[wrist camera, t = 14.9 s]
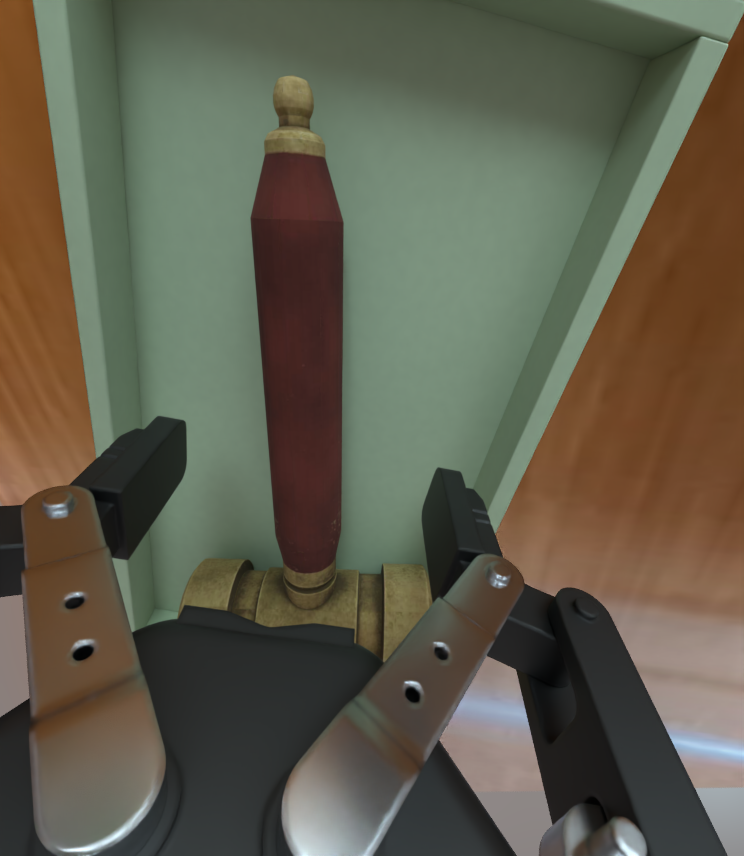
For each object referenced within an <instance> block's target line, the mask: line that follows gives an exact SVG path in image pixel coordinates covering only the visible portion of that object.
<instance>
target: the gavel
mask: <svg viewBox="0 0 744 856" xmlns="http://www.w3.org/2000/svg"><path fill="white" fill-rule="evenodd" d="M273 104H274V108H275V111H276V113H277V115H278V117H279V128H277V129H275V130H273V131H271V132H269V133H268V134H267V136H266V138H265V141H264V150H265V157H264V161H263V165H262V170H261V174H260V178H259V183H258V187H257V191H256V196H255V200H254V204H253V209H252V213H251V217H250V220H251V233H252V246H253V258H254V271H255V284H256V296H257V309H258V321H259V334H260V347H261V359H262V372H263V385H264V397H265V410H266V423H267V435H268V448H269V461H270V473H271V486H272V499H273V511H274V524H275V535H276V539H277V542H278V546H279V549H280V552H281V555H282V559H283V567H270V568H269V569H268V570H267V571H260V570H254V568H253V564H252V562H251V561H250V560H249V559H225V558H207V559H204V560H203V561H202V562H201V563H200V564H199V565H198V566H197V568H196V569H195V570H194V572H193V573H192V575H191V577H190V578H189V581H188V583H187V585H186V587H185V590H184V593H183V596H182V599H181V603H180V607H179V612H178V616H177V619H178V618H179V616H180V613H181V611H182V609H183V607H184V605H190V606H197V607H205V608H212V609H219V610H226V611H229V612H232V613H234V614H237V615H239V616H242V617H244V618H247V619H249V620H251V621H254V622H256V623H259V624H261V625H264V626H267V627H279V626H289V625H299V624H309V623H318V624H325V625H332V626H339V627H346V628H353V629H355V636H354V643H356V644H359V645H361V646H363V647H365V648H366V649H368V650H370V651H371V652H372V653H374V654H375V655H377V656H378V657H379V658H380V659H381V660H382V661H383V662H385V661H386V660H387V659H388V658H389V656H390V655H391V654H392V653H393V651H394V650H395V649H396V648H397V647H398V645H399V644H400V643H401V642H402V640H403V639H404V638H405V637H406V636H407V634H408V633H409V632H410V631H411V629H412V628H413V627H414V626H415V625H416V623H417V622H418V621H419V620H420V618H421V617H422V616H423V615H424V614H425V612H426V611H427V610H428V609H429V607H430V606H431V605H432V597H431V589H430V582H429V577H428V574H427V571H426V570H425V568H424V567H423V565H421V564H389V563H383V564H382V568H381V574H360V572H359V570H349V569H336V552H337V548H338V543H339V538H340V534H341V502H342V370H343V238H344V222H343V218H342V215H341V211H340V208H339V204H338V201H337V197H336V194H335V190H334V187H333V183H332V180H331V176H330V173H329V169H328V166H327V162H326V156H325V144H324V142H323V140H322V138H321V137H320V136H319V135H317V134H316V133H314V132H313V131H311V130H310V118H311V116H312V114H313V109H314V98H313V93H312V90H311V88H310V85H309V83H308V82H307V81H306V80H304V79H302V78H299V77H297V76H294V75H290V76H285V77H280V78H278V80H277V82H276V84H275V86H274V92H273Z"/></svg>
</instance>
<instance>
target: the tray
mask: <svg viewBox="0 0 744 856" xmlns="http://www.w3.org/2000/svg"><path fill="white" fill-rule="evenodd" d="M33 6H34V13H35V21H36V28H37V35H38V42H39V49H40V57H41V64H42V71H43V78H44V85H45V93H46V100H47V107H48V114H49V121H50V128H51V136H52V143H53V150H54V157H55V164H56V172H57V179H58V186H59V193H60V200H61V208H62V215H63V222H64V229H65V236H66V243H67V251H68V258H69V265H70V272H71V279H72V287H73V294H74V301H75V308H76V315H77V322H78V330H79V337H80V344H81V351H82V358H83V366H84V373H85V380H86V387H87V394H88V402H89V409H90V416H91V423H92V430H93V437H94V445H95V452H96V459H97V458H98V457H100V456H101V454H102V453H103V452H104V451H105V450H106V449H107V448H109V447H110V445H111V444H112V443H113V442H114V441H115V440H116V439H117V438H118V437H119V436H121V435H123V434H125V433H127V432H129V431H131V430H134V429H136V428H139V429H145V428H146V427H147V426H148V425H149V424H150V423H151V422H152V421H153V420H154V419H155V418H156V417H157V416H164V417H169V418H175V419H180V420H184V421H185V422H186V428H187V465H186V470H185V474H184V476H183V479H182V481H181V482H180V484H179V485H178V487H177V488H176V490H175V491H174V493H173V494H172V496H171V497H170V499H169V500H168V502H167V503H166V505H165V506H164V508H163V509H162V511H161V512H160V514H159V515H158V517H157V518H156V520H155V521H154V523H153V524H152V526H151V527H150V529H149V530H148V532H147V533H146V535H145V536H144V538H143V539H142V541H141V542H140V544H139V545H138V547H137V548H136V550H135V551H134V553H133V554H132V556H131V557H130V559H129V560H122V559H116V558H112V560H113V564H114V567H115V571H116V575H117V579H118V582H119V586H120V590H121V594H122V597H123V601H124V605H125V609H126V612H127V616H128V620H129V624H130V627H131V631H132V632H134V631H136V630H138V629H140V628H143V627H145V626H148V625H151V624H154V623H157V622H160V621H165V620H170V619H177V616H178V612H179V607H180V603H181V599H182V596H183V593H184V590H185V587H186V585H187V583H188V581H189V578H190V577H191V575H192V573H193V572H194V570H195V569H196V568H197V566H198V565H199V564H200V563H201V562H202V561H203V560H204V559H207V558H225V559H249V560H250V561H251V562H252V564H253V568H254V570H260V571H267V570H268V569H269V568H270V567H283V559H282V555H281V552H280V549H279V546H278V542H277V539H276V535H275V524H274V511H273V499H272V486H271V473H270V461H269V448H268V435H267V423H266V410H265V397H264V385H263V372H262V359H261V347H260V334H259V321H258V309H257V296H256V284H255V271H254V258H253V246H252V233H251V220H250V217H251V213H252V209H253V204H254V200H255V196H256V191H257V187H258V183H259V178H260V174H261V170H262V165H263V161H264V157H265V150H264V141H265V138H266V136H267V134H268V133H269V132H271V131H273V130H275V129H277V128H279V117H278V115H277V113H276V111H275V108H274V104H273V92H274V86H275V84H276V82H277V80H278V78H280V77H285V76H290V75H294V76H297V77H299V78H302V79H304V80H306V81H307V82H308V83H309V85H310V88H311V90H312V93H313V98H314V109H313V114H312V116H311V118H310V130H311V131H313V132H314V133H316V134H317V135H319V136H320V137H321V138H322V140H323V142H324V144H325V156H326V162H327V166H328V169H329V173H330V176H331V180H332V183H333V187H334V190H335V194H336V197H337V201H338V204H339V208H340V211H341V215H342V218H343V222H344V238H343V370H342V502H341V534H340V538H339V543H338V548H337V552H336V569H349V570H359V572H360V574H381V568H382V564H383V563H389V564H421V565H423V567H424V568H425V570H426V571H427V574H428V567H427V560H426V552H425V545H424V537H423V530H422V522H421V516H422V508H423V504H424V501H425V498H426V495H427V493H428V490H429V487H430V484H431V481H432V478H433V476H434V473H435V471H436V469H437V468H438V467H440V468H445V469H450V470H456V471H460V472H461V473H462V476H463V479H464V483H465V486H466V488H470V489H474V490H475V491H476V492H477V493H478V495H479V496H480V497H481V498H482V499H483V501H484V503H485V506H486V509H487V512H488V513H487V515H489V518H490V521H491V525H492V527H493V530H494V533H496V531H497V529H498V527H499V525H500V523H501V520H502V518H503V516H504V514H505V512H506V510H507V508H508V506H509V504H510V502H511V500H512V497H513V495H514V493H515V491H516V489H517V487H518V485H519V483H520V481H521V479H522V476H523V474H524V472H525V470H526V468H527V466H528V464H529V462H530V460H531V458H532V456H533V453H534V451H535V449H536V447H537V445H538V443H539V441H540V439H541V437H542V435H543V433H544V430H545V428H546V426H547V424H548V422H549V420H550V418H551V416H552V414H553V412H554V410H555V407H556V405H557V403H558V401H559V399H560V397H561V395H562V393H563V391H564V389H565V387H566V384H567V382H568V380H569V378H570V376H571V374H572V372H573V370H574V368H575V366H576V364H577V361H578V359H579V357H580V355H581V353H582V351H583V349H584V347H585V345H586V343H587V341H588V338H589V336H590V334H591V332H592V330H593V328H594V326H595V324H596V322H597V320H598V318H599V315H600V313H601V311H602V309H603V307H604V305H605V303H606V301H607V299H608V297H609V295H610V292H611V290H612V288H613V286H614V284H615V282H616V280H617V278H618V276H619V274H620V272H621V269H622V267H623V265H624V263H625V261H626V259H627V257H628V255H629V253H630V251H631V249H632V246H633V244H634V242H635V240H636V238H637V236H638V234H639V232H640V230H641V228H642V226H643V223H644V221H645V219H646V217H647V215H648V213H649V211H650V209H651V207H652V205H653V203H654V200H655V198H656V196H657V194H658V192H659V190H660V188H661V186H662V184H663V182H664V180H665V177H666V175H667V173H668V171H669V169H670V167H671V165H672V163H673V161H674V159H675V157H676V154H677V152H678V150H679V148H680V146H681V144H682V142H683V140H684V138H685V136H686V134H687V131H688V129H689V127H690V125H691V123H692V121H693V119H694V117H695V115H696V113H697V111H698V108H699V106H700V104H701V102H702V100H703V98H704V96H705V94H706V92H707V90H708V88H709V85H710V83H711V81H712V79H713V77H714V75H715V73H716V71H717V69H718V67H719V65H720V62H721V60H722V58H723V56H724V54H725V52H726V50H727V48H728V44H726V43H728V42H729V41H730V39H731V38H732V36H733V34H734V32H735V30H736V28H737V25H738V23H739V21H740V19H741V17H742V15H743V13H744V0H33ZM428 577H429V574H428Z"/></svg>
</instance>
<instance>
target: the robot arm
mask: <svg viewBox="0 0 744 856" xmlns="http://www.w3.org/2000/svg"><path fill="white" fill-rule="evenodd" d="M186 465H187V428H186V422H185V421H184V420H180V419H175V418H169V417H164V416H157V417H156V418H155V419H154V420H153V421H152V422H151V423H150V424H149V425H148V426H147V427H146V428H145V429H139V428H136V429H134V430H131V431H129V432H127V433H125V434H123V435H121V436H119V437H118V438H117V439H116V440H115V441H114V442H113V443H112V444H111V445H110V447H109V448H107V449H106V450H105V451H104V452H103V453H102V454H101V456H100V457H98V458H97V459H96V460H95V461H93V462H92V463H91V464H90V465H89V466H88V467H87V468H86V469H85V470H84V471H83V472H82V473H81V474H80V475H79V476H78V477H77V478H76V479H75V480H74V481H73V482H72V483H71V484H70V485H66V486H57V487H52V488H48V489H45V490H43V491H40V492H38V493H36V494H34V495H33V496H31V497H30V498H29V499H28V500H27V501H26V502H25V503H24V504H23V505H15V506H0V597H5V596H13V595H21V594H22V595H23V610H24V624H25V638H26V653H27V668H28V682H29V696H30V698H29V699H28V700H26V701H24V702H23V703H21V704H20V705H18V706H17V707H15V708H14V709H12V710H11V711H9V712H8V713H6V714H5V715H3V716H1V717H0V856H517V855H516V854H515V852H514V851H513V850H512V848H511V847H510V845H509V844H508V842H507V841H506V839H505V838H504V836H503V835H502V833H501V832H500V830H499V829H498V827H497V826H496V824H495V823H494V821H493V820H492V818H491V817H490V815H489V814H488V812H487V811H486V809H485V808H484V806H483V805H482V803H481V802H480V800H479V799H478V797H477V796H476V794H475V793H474V791H473V790H472V788H471V787H470V786H469V784H468V783H467V781H466V780H465V778H464V777H463V775H462V774H461V772H460V771H459V769H458V768H457V766H456V765H455V763H454V762H453V760H452V759H451V757H450V756H449V754H448V753H447V751H446V750H445V748H444V747H443V745H442V744H441V742H440V741H439V738H440V737H441V735H442V733H443V731H444V729H445V728H446V726H447V724H448V722H449V721H450V719H451V717H452V715H453V714H454V712H455V710H456V708H457V707H458V705H459V703H460V701H461V700H462V698H463V696H464V694H465V693H466V691H467V689H468V687H469V685H470V684H471V682H472V680H473V678H474V677H475V675H476V673H477V671H478V670H479V668H480V666H481V664H482V663H483V661H484V659H485V657H486V656H489V657H491V658H493V659H495V660H497V661H499V662H501V663H504V664H506V665H508V666H510V667H512V668H514V669H516V671H517V675H518V679H519V684H520V688H521V692H522V696H523V701H524V705H525V709H526V714H527V718H528V722H529V726H530V731H531V735H532V739H533V743H534V748H535V752H536V756H537V761H538V765H539V769H540V773H541V778H542V782H543V786H544V790H545V795H546V799H547V803H548V807H549V811H550V816H551V820H552V826H551V827H550V828H549V829H548V830H547V831H546V832H545V834H544V835H543V837H542V840H541V842H540V847H539V856H727V854H726V852H725V849H724V847H723V845H722V843H721V841H720V839H719V837H718V835H717V833H716V831H715V829H714V827H713V825H712V823H711V821H710V819H709V817H708V815H707V813H706V811H705V808H704V806H703V805H702V802H701V800H700V798H699V797H698V794H697V792H696V790H695V788H694V786H693V784H692V782H691V780H690V778H689V776H688V774H687V772H686V770H685V768H684V765H683V763H682V761H681V759H680V757H679V755H678V753H677V751H676V749H675V747H674V745H673V743H672V741H671V739H670V737H669V735H668V733H667V731H666V729H665V727H664V724H663V722H662V720H661V718H660V716H659V714H658V712H657V710H656V708H655V706H654V704H653V702H652V700H651V698H650V696H649V694H648V692H647V690H646V688H645V686H644V684H643V681H642V679H641V677H640V675H639V673H638V671H637V669H636V667H635V665H634V663H633V661H632V659H631V657H630V655H629V653H628V651H627V649H626V647H625V645H624V643H623V640H622V638H621V636H620V634H619V632H618V630H617V628H616V626H615V624H614V622H613V620H612V618H611V616H610V614H609V612H608V611H607V610H606V608H605V607H604V606H603V605H602V604H601V603H600V602H599V601H598V600H597V599H595V598H594V597H593V596H591V595H590V594H588V593H586V592H584V591H582V590H579V589H576V588H563V589H561V590H560V591H559V592H558V593H557V595H556V596H555V597H554V596H551V595H549V594H546V593H544V592H542V591H539V590H537V589H535V588H532V587H530V586H528V585H527V584H525V583H524V579H523V577H522V575H521V573H520V572H519V570H518V569H517V568H516V567H515V566H514V565H513V564H512V563H511V562H509V561H508V560H506V559H504V558H503V556H502V553H501V550H500V547H499V544H498V541H497V539H496V536H495V533H494V530H493V527H492V525H491V521H490V518H489V515H487V513H488V512H487V509H486V506H485V503H484V501H483V499H482V498H481V497H480V496H479V495H478V493H477V492H476V491H475V490H474V489H470V488H466V486H465V483H464V479H463V476H462V473H461V472H460V471H456V470H450V469H445V468H440V467H438V468H437V469H436V471H435V473H434V476H433V478H432V481H431V484H430V487H429V490H428V493H427V495H426V498H425V501H424V504H423V508H422V516H421V522H422V530H423V537H424V545H425V552H426V560H427V567H428V574H429V582H430V589H431V597H432V605H431V606H430V607H429V609H428V610H427V611H426V612H425V614H424V615H423V616H422V617H421V618H420V620H419V621H418V622H417V623H416V625H415V626H414V627H413V628H412V629H411V631H410V632H409V633H408V634H407V636H406V637H405V638H404V639H403V640H402V642H401V643H400V644H399V645H398V647H397V648H396V649H395V650H394V651H393V653H392V654H391V655H390V656H389V658H388V659H387V660H386V661H385V662H383V661H382V660H381V659H380V658H379V657H378V656H377V655H375V654H374V653H372V652H371V651H370V650H368V649H366V648H365V647H363V646H361V645H359V644H356V643H354V636H355V629H353V628H346V627H339V626H332V625H325V624H318V623H309V624H299V625H289V626H279V627H267V626H264V625H261V624H259V623H256V622H254V621H251V620H249V619H247V618H244V617H242V616H239V615H237V614H234V613H232V612H229V611H226V610H219V609H212V608H205V607H197V606H190V605H184V607H183V609H182V611H181V613H180V616H179V618H178V619H170V620H165V621H160V622H157V623H154V624H151V625H148V626H145V627H143V628H140V629H138V630H136V631H134V632H132V631H131V627H130V624H129V620H128V616H127V612H126V609H125V605H124V601H123V597H122V594H121V590H120V586H119V582H118V579H117V575H116V571H115V567H114V564H113V560H112V558H116V559H122V560H129V559H130V557H131V556H132V554H133V553H134V551H135V550H136V548H137V547H138V545H139V544H140V542H141V541H142V539H143V538H144V536H145V535H146V533H147V532H148V530H149V529H150V527H151V526H152V524H153V523H154V521H155V520H156V518H157V517H158V515H159V514H160V512H161V511H162V509H163V508H164V506H165V505H166V503H167V502H168V500H169V499H170V497H171V496H172V494H173V493H174V491H175V490H176V488H177V487H178V485H179V484H180V482H181V481H182V479H183V476H184V474H185V470H186Z"/></svg>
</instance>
